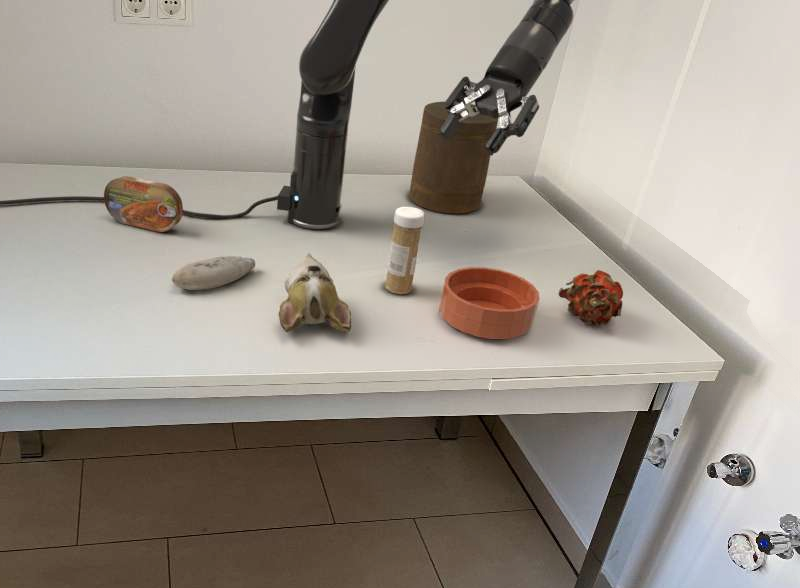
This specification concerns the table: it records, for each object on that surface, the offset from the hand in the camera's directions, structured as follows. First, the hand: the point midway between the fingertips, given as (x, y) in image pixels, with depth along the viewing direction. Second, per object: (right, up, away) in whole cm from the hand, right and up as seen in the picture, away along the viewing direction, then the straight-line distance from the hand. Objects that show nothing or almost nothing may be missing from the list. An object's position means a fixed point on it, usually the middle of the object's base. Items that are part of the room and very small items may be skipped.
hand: (465, 144), depth 124 cm
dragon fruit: (+19, -27, +2) cm, 33 cm away
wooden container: (+4, 0, +40) cm, 40 cm away
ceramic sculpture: (-24, -28, -5) cm, 37 cm away
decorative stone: (-40, -21, +3) cm, 45 cm away
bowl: (+3, -28, -1) cm, 28 cm away
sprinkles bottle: (-10, -22, +5) cm, 25 cm away
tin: (-54, -9, +19) cm, 58 cm away
